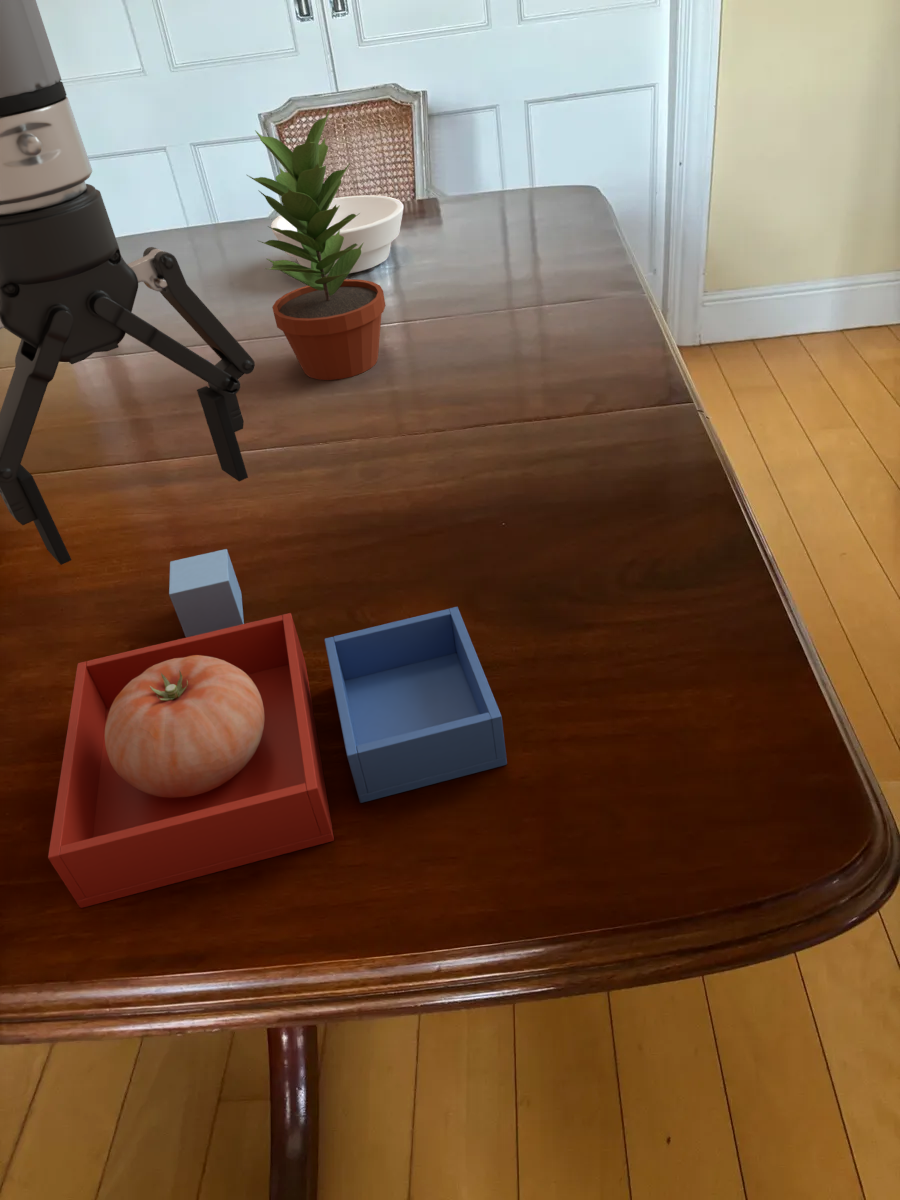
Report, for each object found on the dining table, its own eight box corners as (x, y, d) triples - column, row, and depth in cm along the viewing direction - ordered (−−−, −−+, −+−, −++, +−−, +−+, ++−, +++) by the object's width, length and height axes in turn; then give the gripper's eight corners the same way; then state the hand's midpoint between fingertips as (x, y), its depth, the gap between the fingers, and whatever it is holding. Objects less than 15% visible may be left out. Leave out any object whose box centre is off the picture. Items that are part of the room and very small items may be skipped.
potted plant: (263, 371, 122) (200, 127, 103) (352, 334, 129) (308, 99, 110) (324, 400, 112) (266, 137, 94) (417, 358, 119) (380, 106, 101)
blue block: (186, 639, 77) (168, 594, 74) (186, 606, 81) (169, 561, 78) (244, 626, 78) (228, 580, 75) (241, 593, 82) (226, 548, 78)
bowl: (424, 240, 161) (418, 191, 155) (389, 285, 144) (381, 231, 139) (308, 246, 166) (298, 198, 161) (261, 290, 149) (249, 238, 144)
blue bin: (360, 803, 61) (346, 755, 58) (336, 684, 70) (324, 638, 67) (507, 765, 62) (501, 716, 59) (464, 653, 71) (457, 606, 69)
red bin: (80, 908, 57) (47, 858, 53) (102, 712, 71) (77, 662, 68) (334, 841, 58) (317, 787, 55) (305, 662, 73) (290, 612, 70)
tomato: (143, 719, 69) (106, 640, 64) (282, 700, 68) (256, 619, 64) (110, 833, 60) (65, 753, 55) (270, 812, 60) (238, 729, 55)
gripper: (-202, 274, 42) (-8, 618, 55) (252, 147, 54) (325, 459, 67) (-224, 249, 47) (-41, 570, 60) (196, 138, 58) (274, 429, 71)
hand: (151, 512), depth 63 cm, fingers open, 13 cm apart
